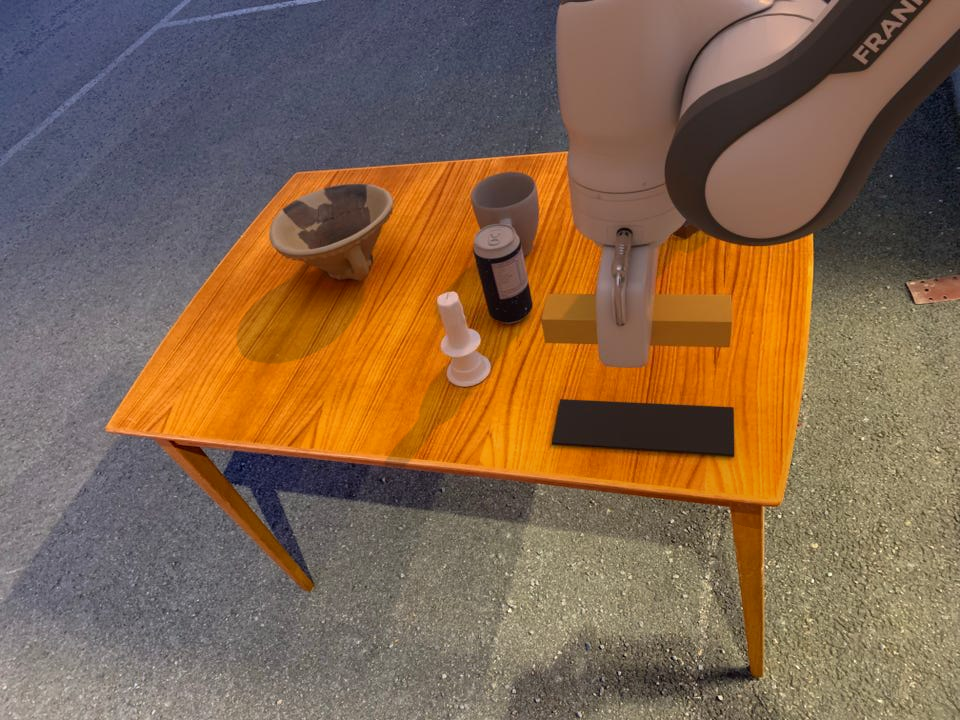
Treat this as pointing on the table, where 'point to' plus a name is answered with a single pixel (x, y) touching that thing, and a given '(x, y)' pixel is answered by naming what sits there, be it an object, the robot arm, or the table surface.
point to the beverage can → (503, 273)
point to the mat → (645, 427)
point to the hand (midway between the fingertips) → (635, 326)
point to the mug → (508, 205)
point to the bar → (672, 321)
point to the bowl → (333, 228)
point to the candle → (461, 344)
